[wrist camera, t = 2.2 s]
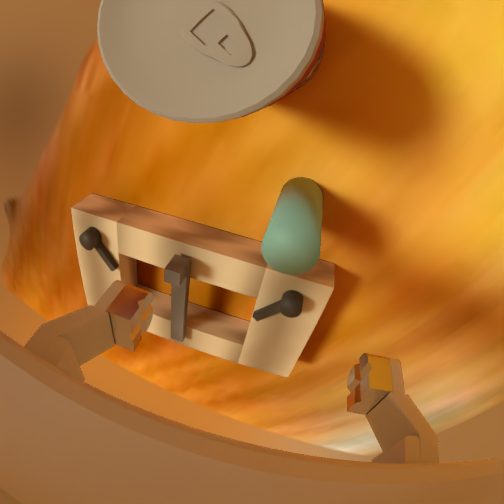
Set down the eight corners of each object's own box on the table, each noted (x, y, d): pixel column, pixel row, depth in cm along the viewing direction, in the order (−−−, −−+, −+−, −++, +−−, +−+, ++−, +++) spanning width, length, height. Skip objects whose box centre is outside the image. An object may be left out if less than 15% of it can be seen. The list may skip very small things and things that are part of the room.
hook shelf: (334, 263, 24) (333, 309, 19) (291, 354, 31) (283, 395, 26) (91, 193, 25) (54, 219, 21) (102, 288, 32) (77, 319, 28)
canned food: (283, 119, 19) (238, 169, 10) (183, 61, 18) (67, 70, 9) (349, 28, 14) (376, -20, 5) (240, -29, 13) (159, -98, 4)
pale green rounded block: (328, 184, 20) (328, 235, 15) (316, 221, 22) (309, 281, 16) (286, 171, 21) (268, 217, 15) (276, 209, 22) (255, 265, 17)
